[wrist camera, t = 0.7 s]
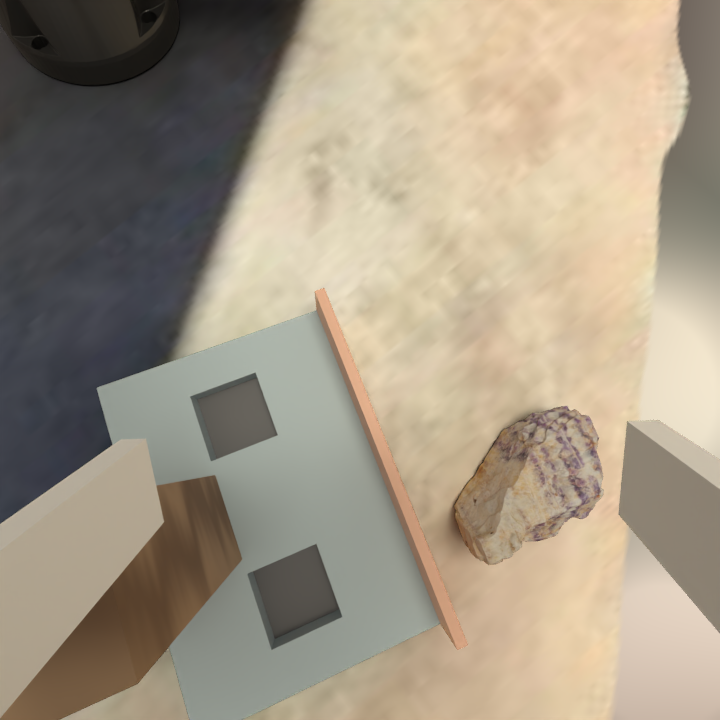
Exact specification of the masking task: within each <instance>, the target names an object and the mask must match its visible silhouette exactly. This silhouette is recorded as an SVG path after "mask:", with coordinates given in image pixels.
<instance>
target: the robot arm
mask: <svg viewBox="0 0 720 720" xmlns="http://www.w3.org/2000/svg"><path fill="white" fill-rule="evenodd" d="M179 19H180V17H179V8H178V4H177V1H176V0H0V24H1V25H2V27H3V29H4V31H5V32H6V34H7V35H8V36H9V38H10V39H11V40H12V42H13V43H14V44H15V46H16V47H17V48H18V49H19V51H20V52H21V53H22V55H23V56H24V57H25V58H26V59H27V60H28V61H29V62H30V63H31V64H32V65H33V66H34V67H36V68H37V69H38V70H40V71H41V72H43V73H45V74H47V75H49V76H51V77H53V78H56V79H59V80H62V81H65V82H69V83H75V84H83V85H101V84H109V83H115V82H119V81H122V80H126V79H129V78H131V77H134V76H136V75H138V74H140V73H142V72H144V71H145V70H147V69H149V68H150V67H152V66H153V65H154V64H156V63H157V62H158V61H159V60H160V59H161V58H162V57H163V56H164V55H165V54H166V52H167V51H168V50H169V48H170V47H171V45H172V44H173V42H174V40H175V38H176V35H177V32H178V28H179ZM619 515H620V517H621V518H622V519H623V520H624V521H625V523H626V524H627V525H628V526H629V527H630V528H631V530H632V531H633V532H634V533H635V534H636V535H637V537H638V538H639V539H640V540H641V541H642V542H643V544H644V545H645V546H646V547H647V548H648V549H649V550H650V552H651V553H652V554H653V555H654V556H655V558H656V559H657V560H658V561H659V562H660V564H662V566H663V567H664V568H665V569H666V571H667V572H668V573H669V574H670V575H671V577H672V578H673V579H674V580H675V581H676V582H677V584H678V585H679V586H680V587H681V588H682V589H683V591H684V592H685V593H686V594H687V595H688V597H689V598H690V599H691V600H692V601H693V602H694V603H695V605H696V606H697V607H698V608H699V609H700V611H701V612H702V613H703V614H704V615H705V616H706V618H707V619H708V620H709V621H710V622H711V623H712V624H713V626H714V627H715V628H716V629H717V630H718V632H719V633H720V459H718V458H717V457H715V456H714V455H712V454H710V453H709V452H707V451H706V450H704V449H702V448H701V447H700V446H698V445H696V444H694V443H693V442H692V441H690V440H689V439H687V438H686V437H684V436H682V435H681V434H679V433H678V432H676V431H675V430H673V429H672V428H670V427H668V426H667V425H665V424H664V423H662V422H661V421H659V420H650V421H649V420H648V421H627V429H626V439H625V450H624V461H623V472H622V482H621V493H620V504H619ZM163 523H164V519H163V515H162V510H161V506H160V501H159V496H158V492H157V487H156V483H155V478H154V473H153V469H152V464H151V459H150V455H149V450H148V446H147V441H146V439H121V440H119V441H118V442H116V443H115V444H114V445H112V446H111V447H109V448H108V449H106V450H105V451H104V452H102V453H101V454H99V455H98V456H96V457H95V458H94V459H92V460H91V461H89V462H88V463H86V464H85V465H84V466H82V467H81V468H79V469H78V470H77V471H75V472H74V473H72V474H71V475H69V476H68V477H67V478H65V479H64V480H62V481H61V482H59V483H58V484H57V485H55V486H54V487H52V488H51V489H49V490H48V491H47V492H45V493H44V494H42V495H41V496H40V497H38V498H37V499H35V500H34V501H32V502H31V503H30V504H28V505H27V506H25V507H24V508H22V509H21V510H20V511H18V512H17V513H15V514H14V515H12V516H11V517H10V518H8V519H7V520H5V521H4V522H2V523H1V524H0V718H1V717H2V716H3V714H4V713H5V712H6V711H7V710H8V708H9V707H10V706H11V705H12V704H13V702H14V701H15V700H16V699H17V698H18V696H19V695H20V694H21V693H22V692H23V690H24V689H25V688H26V687H27V686H28V684H29V683H30V682H31V681H32V680H33V678H34V677H35V676H36V675H37V674H38V672H39V671H40V670H41V669H42V668H43V666H44V665H45V664H46V663H47V662H48V660H49V659H50V658H51V657H52V656H53V654H54V653H55V652H56V651H57V650H58V648H59V647H60V646H61V645H62V644H63V643H64V641H65V640H66V639H67V638H68V637H69V635H70V634H71V633H72V632H73V631H74V629H75V628H76V627H77V626H78V625H79V623H80V622H81V621H82V620H83V619H84V617H85V616H86V615H87V614H88V613H89V611H90V610H91V609H92V608H93V607H94V605H95V604H96V603H97V602H98V601H99V599H100V598H101V597H102V596H103V595H104V593H105V592H106V591H107V590H108V589H109V587H110V586H111V585H112V584H113V583H114V581H115V580H116V579H117V578H118V577H119V575H120V574H121V573H122V572H123V571H124V569H125V568H126V567H127V566H128V565H129V563H130V562H131V561H132V560H133V559H134V557H135V556H136V555H137V554H138V553H139V551H140V550H141V549H142V548H143V547H144V546H145V544H146V543H147V542H148V541H149V540H150V538H151V537H152V536H153V535H154V534H155V532H156V531H157V530H158V529H159V528H160V526H161V525H162V524H163Z"/></svg>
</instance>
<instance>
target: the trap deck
mask: <svg viewBox="0 0 720 720" xmlns="http://www.w3.org/2000/svg"><path fill="white" fill-rule="evenodd" d="M315 299H316V309H317V310H316V311H314V312H311V313H308V314H305V315H302V316H299V317H297V318H294V319H291V320H288V321H285V322H282V323H280V324H277V325H274V326H271V327H268V328H265V329H263V330H260V331H257V332H254V333H251V334H248V335H245V336H243V337H240V338H237V339H234V340H231V341H228V342H226V343H223V344H220V345H217V346H214V347H211V348H209V349H206V350H203V351H200V352H197V353H194V354H192V355H189V356H186V357H183V358H180V359H177V360H175V361H172V362H169V363H166V364H163V365H160V366H157V367H155V368H152V369H149V370H146V371H143V372H140V373H138V374H135V375H132V376H129V377H126V378H123V379H121V380H118V381H115V382H112V383H109V384H106V385H104V386H101V387H98V388H97V391H98V395H99V399H100V402H101V406H102V409H103V413H104V416H105V420H106V424H107V427H108V431H109V434H110V438H111V441H112V445H114V444H115V443H116V442H118V441H119V440H121V439H146V441H147V446H148V450H149V455H150V459H151V464H152V469H153V473H154V478H155V483H156V486H157V485H162V484H168V483H174V482H179V481H185V480H190V479H196V478H201V477H207V476H212V475H215V476H216V479H217V482H218V485H219V488H220V491H221V494H222V497H223V501H224V504H225V507H226V510H227V513H228V516H229V519H230V522H231V525H232V529H233V532H234V535H235V538H236V541H237V544H238V547H239V550H240V553H241V557H242V560H241V561H240V563H239V564H238V565H237V566H236V567H235V569H234V570H233V571H232V572H231V573H230V575H229V576H228V577H227V578H226V579H225V580H224V582H223V583H222V584H221V585H220V586H219V588H218V589H217V590H216V591H215V592H214V594H213V595H212V596H211V597H210V598H209V600H208V601H207V602H206V603H205V604H204V605H203V607H202V608H201V609H200V610H199V611H198V613H197V614H196V615H195V616H194V617H193V619H192V620H191V621H190V622H189V623H188V625H187V626H186V627H185V628H184V629H183V630H182V632H181V633H180V634H179V635H178V636H177V638H176V639H175V640H174V641H173V642H172V644H171V645H170V646H169V649H170V652H171V656H172V659H173V663H174V667H175V670H176V674H177V677H178V681H179V685H180V688H181V692H182V695H183V699H184V702H185V706H186V710H187V713H188V717H189V720H243V719H245V718H247V717H249V716H251V715H253V714H255V713H257V712H260V711H262V710H264V709H266V708H268V707H270V706H272V705H274V704H276V703H278V702H280V701H282V700H284V699H286V698H288V697H290V696H292V695H295V694H297V693H299V692H301V691H303V690H305V689H307V688H309V687H311V686H313V685H315V684H317V683H319V682H321V681H323V680H325V679H327V678H329V677H332V676H334V675H336V674H338V673H340V672H342V671H344V670H346V669H348V668H350V667H352V666H354V665H356V664H358V663H360V662H362V661H364V660H366V659H369V658H371V657H373V656H375V655H377V654H379V653H381V652H383V651H385V650H387V649H389V648H391V647H393V646H395V645H397V644H399V643H401V642H403V641H406V640H408V639H410V638H412V637H414V636H416V635H418V634H420V633H422V632H424V631H426V630H428V629H430V628H432V627H434V626H436V625H438V624H441V625H442V627H443V629H444V630H445V632H446V633H447V635H448V636H449V638H450V639H451V641H452V642H453V644H454V646H455V647H456V649H457V650H459V649H461V648H463V647H465V646H467V645H468V644H467V641H466V639H465V636H464V634H463V631H462V629H461V626H460V624H459V621H458V619H457V616H456V614H455V611H454V609H453V606H452V604H451V601H450V599H449V596H448V594H447V591H446V589H445V586H444V584H443V582H442V579H441V577H440V574H439V572H438V569H437V567H436V564H435V562H434V559H433V557H432V554H431V552H430V549H429V547H428V544H427V542H426V539H425V537H424V534H423V532H422V529H421V527H420V524H419V522H418V519H417V517H416V514H415V512H414V510H413V507H412V505H411V502H410V500H409V497H408V495H407V492H406V490H405V487H404V485H403V482H402V480H401V477H400V475H399V472H398V470H397V467H396V465H395V462H394V460H393V457H392V455H391V452H390V450H389V447H388V445H387V442H386V440H385V438H384V435H383V433H382V430H381V428H380V425H379V423H378V420H377V418H376V415H375V413H374V410H373V408H372V405H371V403H370V400H369V398H368V395H367V393H366V390H365V388H364V385H363V383H362V380H361V378H360V375H359V373H358V370H357V368H356V366H355V363H354V361H353V358H352V356H351V353H350V351H349V348H348V346H347V343H346V341H345V338H344V336H343V333H342V331H341V328H340V326H339V323H338V321H337V318H336V316H335V313H334V311H333V308H332V306H331V303H330V301H329V298H328V296H327V294H326V291H325V289H324V288H323V289H320V290H317V291H315Z"/></svg>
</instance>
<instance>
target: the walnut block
mask: <svg viewBox="0 0 720 720" xmlns="http://www.w3.org/2000/svg"><path fill="white" fill-rule="evenodd" d="M156 487H157V492H158V496H159V501H160V506H161V510H162V515H163V519H164V523H163V524H162V525H161V526H160V528H159V529H158V530H157V531H156V532H155V534H154V535H153V536H152V537H151V538H150V540H149V541H148V542H147V543H146V544H145V546H144V547H143V548H142V549H141V550H140V551H139V553H138V554H137V555H136V556H135V557H134V559H133V560H132V561H131V562H130V563H129V565H128V566H127V567H126V568H125V569H124V571H123V572H122V573H121V574H120V575H119V577H118V578H117V579H116V580H115V581H114V583H113V584H112V585H111V586H110V587H109V589H108V590H107V591H106V592H105V593H104V595H103V596H102V597H101V598H100V599H99V601H98V602H97V603H96V604H95V605H94V607H93V608H92V609H91V610H90V611H89V613H88V614H87V615H86V616H85V617H84V619H83V620H82V621H81V622H80V623H79V625H78V626H77V627H76V628H75V629H74V631H73V632H72V633H71V634H70V635H69V637H68V638H67V639H66V640H65V641H64V643H63V644H62V645H61V646H60V647H59V648H58V650H57V651H56V652H55V653H54V654H53V656H52V657H51V658H50V659H49V660H48V662H47V663H46V664H45V665H44V666H43V668H42V669H41V670H40V671H39V672H38V674H37V675H36V676H35V677H34V678H33V680H32V681H31V682H30V683H29V684H28V686H27V687H26V688H25V689H24V690H23V692H22V693H21V694H20V695H19V696H18V698H17V699H16V700H15V701H14V702H13V704H12V705H11V706H10V707H9V708H8V710H7V711H6V712H5V713H4V714H3V716H2V717H1V718H0V720H60V719H62V718H64V717H66V716H68V715H71V714H73V713H75V712H77V711H79V710H81V709H84V708H86V707H88V706H90V705H92V704H95V703H97V702H99V701H101V700H103V699H106V698H108V697H110V696H112V695H114V694H116V693H119V692H121V691H123V690H125V689H127V688H130V687H132V686H134V685H136V684H138V683H139V682H140V680H141V679H142V678H143V677H144V676H145V674H146V673H147V672H148V671H149V670H150V669H151V667H152V666H153V665H154V664H155V663H156V661H157V660H158V659H159V658H160V657H161V655H162V654H163V653H164V652H165V651H166V649H167V648H168V647H169V646H170V645H171V644H172V642H173V641H174V640H175V639H176V638H177V636H178V635H179V634H180V633H181V632H182V630H183V629H184V628H185V627H186V626H187V625H188V623H189V622H190V621H191V620H192V619H193V617H194V616H195V615H196V614H197V613H198V611H199V610H200V609H201V608H202V607H203V605H204V604H205V603H206V602H207V601H208V600H209V598H210V597H211V596H212V595H213V594H214V592H215V591H216V590H217V589H218V588H219V586H220V585H221V584H222V583H223V582H224V580H225V579H226V578H227V577H228V576H229V575H230V573H231V572H232V571H233V570H234V569H235V567H236V566H237V565H238V564H239V563H240V561H241V560H242V557H241V553H240V550H239V547H238V544H237V541H236V538H235V535H234V532H233V529H232V525H231V522H230V519H229V516H228V513H227V510H226V507H225V504H224V501H223V497H222V494H221V491H220V488H219V485H218V482H217V479H216V476H215V475H212V476H207V477H201V478H196V479H190V480H185V481H179V482H174V483H168V484H162V485H157V486H156Z"/></svg>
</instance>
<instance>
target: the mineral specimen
mask: <svg viewBox="0 0 720 720" xmlns="http://www.w3.org/2000/svg"><path fill="white" fill-rule="evenodd" d="M598 439H599V437H598V434H597V432H596V430H595V428H594V426H593V423H592V421H591V419H590V417H589V416H586V415H581V414H580V413H579V412H578V411H577V410H575V409H574V410H572V411H570V410H569V409H568V407H567V406H561V407H558V408H553V409H551V410H547V411H545V412H541V413H532V414H531V415H529V416H528V417H527V418H526V419H525V420H523V421H519V422H517V423H516V424H515V425H512V426H510V427H509V428H507V429H504V430H503V431H502V432H501V434H500V436H499V437H498V439H497V440H496V441H495V443H494V445H493V447H492V448H491V450H490V451H489V453H488V454H487V456H486V458H485V459H484V462H483V463H482V464H481V465H480V467H479V469H478V471H477V472H476V474H475V476H474V477H473V478H472V479H471V480H470V481H469V482H468V484H467V485H466V486H465V488H464V489H463V491H462V493H461V494H460V497H459V499H457V502H456V504H455V505H454V507H455V510H456V513H455V518H456V521H457V523H458V527H459V530H460V532H461V535H462V538H463V541H464V543H465V544H466V546H467V547H468V548H469V550H470V552H471V553H472V555H474V556H475V557H476V558H477V559H479V560H480V561H484V562H485V563H487V564H488V565H494V564H497V563H500V562H502V561H503V559H507V558H510V557H512V555H513V553H514V552H516V551H518V550H519V549H520V548H521V547H522V541H526V542H527V541H540V540H543V539H547V538H550V537H554V536H556V535H557V534H558V532H559V530H560V528H561V526H562V525H563V523H564V522H566V521H567V520H569V519H570V518H571V517H576V518H579V519H583V518H586V517H587V516H588V515H589V512H590V511H591V510H592V509H593V508H594V506H595V504H596V502H597V501H599V500H600V499H601V498H602V496H603V491H604V490H603V489H602V488H601V484H602V480H603V473H602V466H601V463H600V460H599V458H598V455H597V450H596V449H597V445H598Z"/></svg>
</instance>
